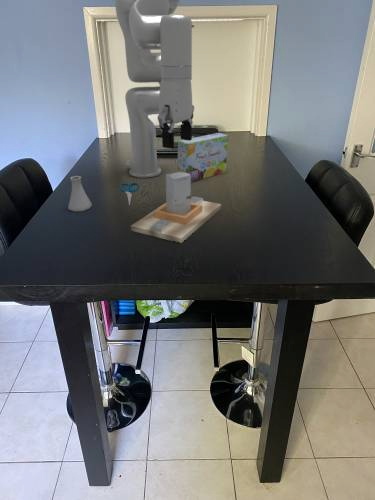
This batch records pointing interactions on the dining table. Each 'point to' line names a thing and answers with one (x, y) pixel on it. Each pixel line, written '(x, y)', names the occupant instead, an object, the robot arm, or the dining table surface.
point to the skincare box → (178, 193)
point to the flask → (78, 196)
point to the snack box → (203, 156)
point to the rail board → (176, 221)
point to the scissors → (130, 190)
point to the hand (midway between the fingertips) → (177, 143)
